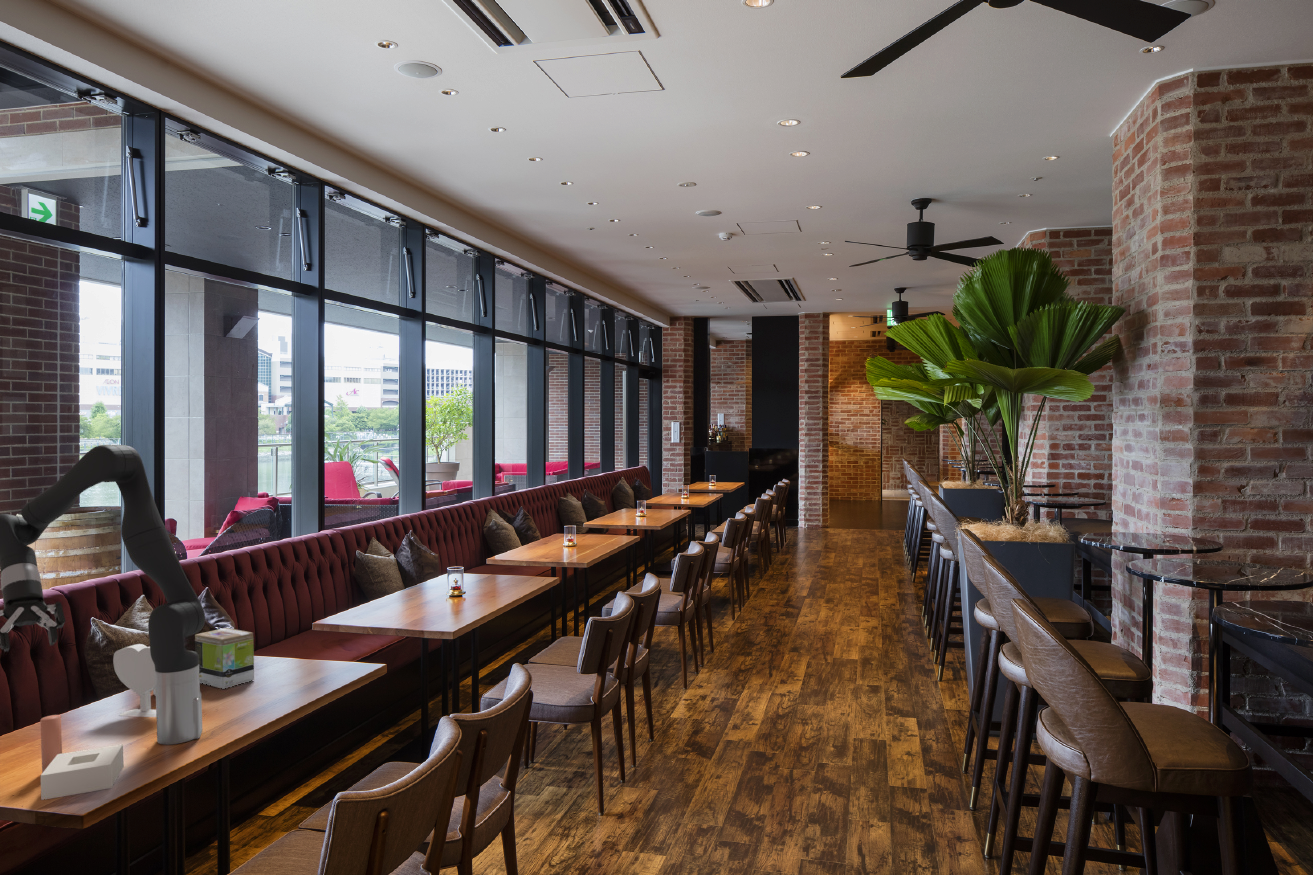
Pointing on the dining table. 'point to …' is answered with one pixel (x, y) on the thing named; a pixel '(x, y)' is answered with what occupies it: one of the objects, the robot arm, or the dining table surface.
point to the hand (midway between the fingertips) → (30, 646)
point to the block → (82, 771)
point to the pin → (50, 739)
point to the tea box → (225, 657)
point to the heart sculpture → (137, 676)
